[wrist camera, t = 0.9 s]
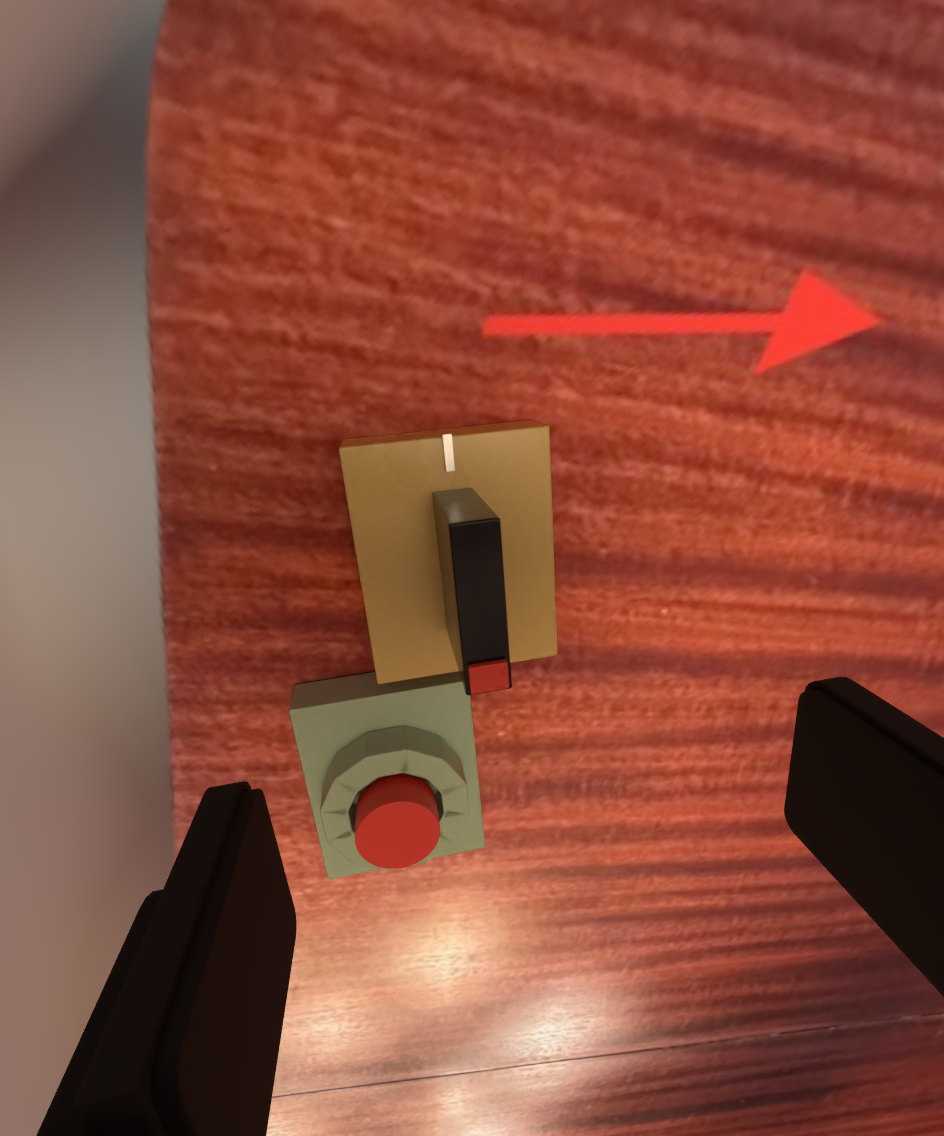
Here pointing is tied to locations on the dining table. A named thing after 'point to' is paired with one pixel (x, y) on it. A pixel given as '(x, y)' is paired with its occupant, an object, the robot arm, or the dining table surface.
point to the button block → (386, 756)
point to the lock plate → (409, 542)
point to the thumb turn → (473, 588)
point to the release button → (396, 821)
